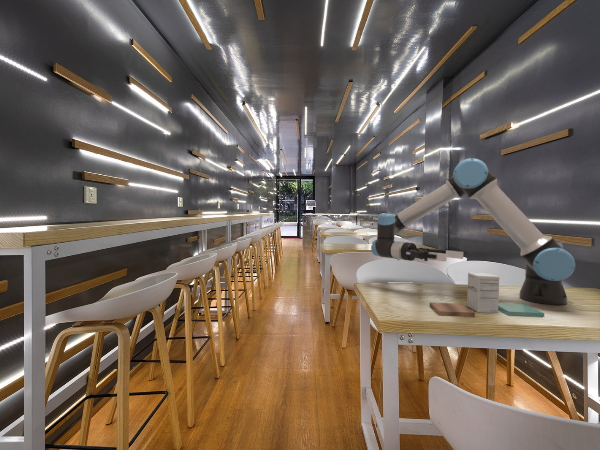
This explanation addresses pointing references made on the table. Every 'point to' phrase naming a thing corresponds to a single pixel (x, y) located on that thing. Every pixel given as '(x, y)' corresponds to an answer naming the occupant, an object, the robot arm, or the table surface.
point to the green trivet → (519, 310)
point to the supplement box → (483, 292)
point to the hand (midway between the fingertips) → (454, 256)
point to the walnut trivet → (452, 309)
